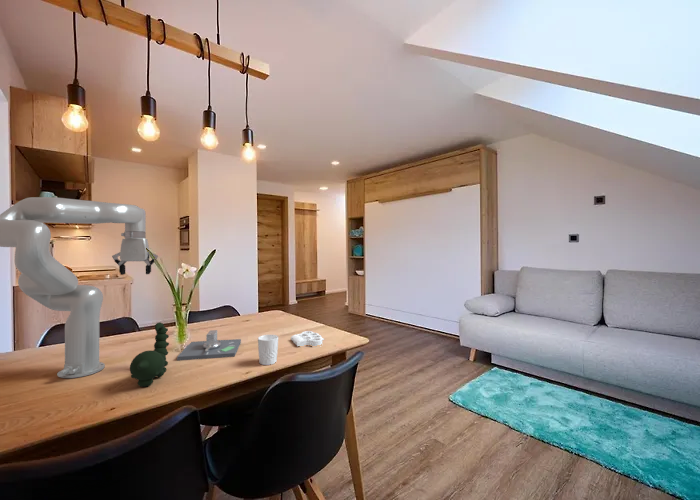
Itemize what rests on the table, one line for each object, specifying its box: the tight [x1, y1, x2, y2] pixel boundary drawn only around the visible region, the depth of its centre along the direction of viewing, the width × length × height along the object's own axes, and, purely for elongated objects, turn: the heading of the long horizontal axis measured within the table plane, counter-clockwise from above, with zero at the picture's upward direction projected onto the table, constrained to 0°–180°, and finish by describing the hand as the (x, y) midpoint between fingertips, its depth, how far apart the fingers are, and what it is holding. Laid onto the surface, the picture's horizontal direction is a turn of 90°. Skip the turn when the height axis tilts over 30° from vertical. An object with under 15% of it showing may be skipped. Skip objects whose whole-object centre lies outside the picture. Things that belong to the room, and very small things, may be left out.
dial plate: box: [176, 338, 242, 361], centre depth 134 cm, size 20×22×2 cm
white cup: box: [257, 334, 279, 366], centre depth 121 cm, size 8×8×10 cm
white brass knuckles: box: [290, 330, 325, 347], centre depth 148 cm, size 3×18×15 cm
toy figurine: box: [129, 321, 170, 388], centre depth 106 cm, size 9×19×25 cm
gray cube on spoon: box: [203, 329, 220, 351], centre depth 131 cm, size 7×14×6 cm, turn 13°
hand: (135, 274), depth 134 cm, fingers open, 9 cm apart
